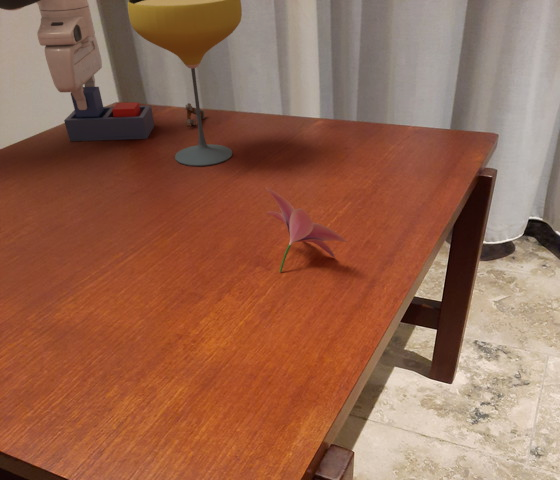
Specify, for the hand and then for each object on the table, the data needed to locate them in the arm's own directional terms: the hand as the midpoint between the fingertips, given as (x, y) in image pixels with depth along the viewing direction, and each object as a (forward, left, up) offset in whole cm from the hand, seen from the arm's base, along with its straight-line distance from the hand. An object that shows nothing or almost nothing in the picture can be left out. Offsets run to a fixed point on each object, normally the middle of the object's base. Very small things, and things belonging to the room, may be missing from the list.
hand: (87, 104), depth 113 cm
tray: (+4, 0, -6) cm, 7 cm away
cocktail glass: (+25, -15, -6) cm, 30 cm away
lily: (+43, -55, -6) cm, 70 cm away
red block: (+8, 0, -5) cm, 9 cm away
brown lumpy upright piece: (+21, +5, -6) cm, 22 cm away
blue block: (0, 0, -2) cm, 2 cm away
